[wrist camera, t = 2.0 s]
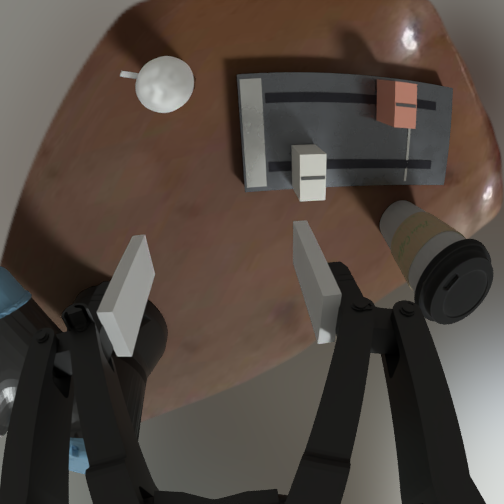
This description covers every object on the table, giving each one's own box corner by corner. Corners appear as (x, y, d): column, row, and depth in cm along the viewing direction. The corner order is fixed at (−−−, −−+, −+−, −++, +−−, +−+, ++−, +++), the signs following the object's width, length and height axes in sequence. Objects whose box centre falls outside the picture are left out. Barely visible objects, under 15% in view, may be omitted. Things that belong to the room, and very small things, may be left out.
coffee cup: (376, 182, 35) (446, 248, 22) (437, 191, 36) (511, 251, 23) (359, 252, 40) (409, 334, 27) (417, 254, 41) (474, 326, 28)
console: (244, 185, 34) (245, 192, 32) (236, 74, 28) (236, 74, 26) (435, 179, 35) (444, 185, 33) (442, 86, 29) (453, 88, 27)
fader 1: (292, 186, 32) (300, 201, 29) (291, 145, 30) (299, 154, 27) (314, 185, 32) (325, 200, 29) (315, 144, 30) (326, 154, 27)
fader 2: (376, 120, 29) (394, 127, 25) (376, 79, 27) (395, 81, 23) (396, 121, 29) (415, 129, 26) (397, 81, 27) (417, 84, 23)
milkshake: (160, 53, 26) (132, 44, 18) (209, 70, 28) (201, 66, 19) (143, 93, 28) (110, 102, 20) (191, 110, 30) (176, 123, 21)
